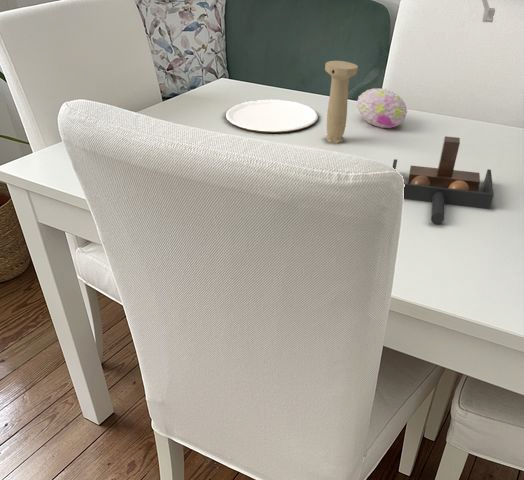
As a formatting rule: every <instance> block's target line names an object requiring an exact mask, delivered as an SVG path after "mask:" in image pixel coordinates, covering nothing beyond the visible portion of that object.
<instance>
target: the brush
mask: <svg viewBox="0 0 524 480" xmlns="http://www.w3.org/2000/svg"><path fill="white" fill-rule="evenodd" d="M460 144H461V138H460V137H456V136H444V138H443V143H442V147H441V152H440V157H439V162H438V165H437V167H430V166H429V167H428V166H419V165H410V166H409V167H410V168H409V172H408V179H407V184H410V183H411V181H412V180H413V179H414V178H415V177H417V176H426V177H427V178H428V179H429V180H430V182H431V186H433V187H442V188H448V187H449V185H450V184H451V183H452V182H454V181H457V180H461V181H464V182H466V183H467V184H468V186H469V191H476V192H479V188H480V184H481V174H480V172H478V171H477V172H476V171H467V170H457V169H455V166H456V165H455V164H456V161H457V158H458V153H459V149H460Z"/></svg>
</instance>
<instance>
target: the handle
mask: <svg viewBox="0 0 524 480" xmlns="http://www.w3.org/2000/svg"><path fill="white" fill-rule="evenodd" d="M358 68H359V66H358V65H357V64H356V63H353V62H350V61H346V60H345V61H344V60H330V61H326V62H325V64H324V71H325V72H326V73H327V74H328V75H330V78H331V80H330V81H331V82H330V91H329V99H328V104H327V105H328V106H327V114H326V134H327V135H326V141H327V142H328V143H329V144H340V143H343V140H344V134H345V129H346V124H347V117H348V99H349V98H348V97H349V83H350V78H352V77H354V76H356V75H357V74H358V70H359V69H358Z"/></svg>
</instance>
